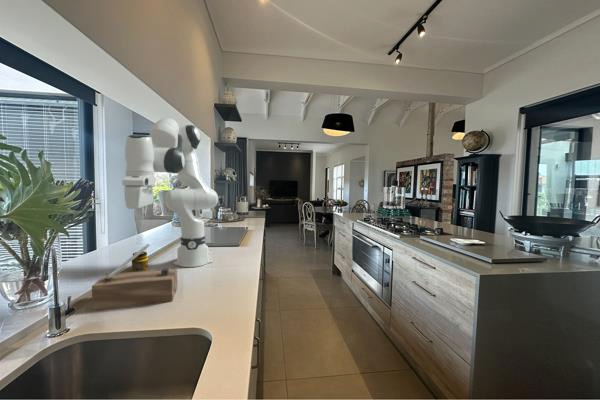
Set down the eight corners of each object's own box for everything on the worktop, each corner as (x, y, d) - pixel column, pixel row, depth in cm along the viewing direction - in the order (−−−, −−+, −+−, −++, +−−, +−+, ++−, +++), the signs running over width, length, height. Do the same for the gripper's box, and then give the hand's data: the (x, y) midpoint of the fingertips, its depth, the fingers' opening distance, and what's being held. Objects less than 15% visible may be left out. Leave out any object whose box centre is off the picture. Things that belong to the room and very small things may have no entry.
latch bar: (111, 276, 96) (108, 274, 96) (150, 245, 99) (147, 243, 98) (106, 281, 92) (103, 278, 91) (147, 248, 95) (144, 245, 94)
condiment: (153, 277, 118) (152, 250, 117) (140, 284, 109) (140, 256, 108) (137, 277, 118) (136, 250, 117) (123, 284, 110) (122, 255, 109)
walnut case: (107, 294, 99) (106, 268, 99) (177, 288, 106) (176, 263, 105) (92, 309, 88) (91, 280, 87) (172, 301, 95) (171, 273, 94)
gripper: (139, 180, 104) (140, 215, 104) (120, 180, 84) (121, 223, 85) (157, 180, 105) (157, 215, 106) (142, 180, 86) (143, 222, 87)
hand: (141, 218), depth 95 cm, fingers closed
